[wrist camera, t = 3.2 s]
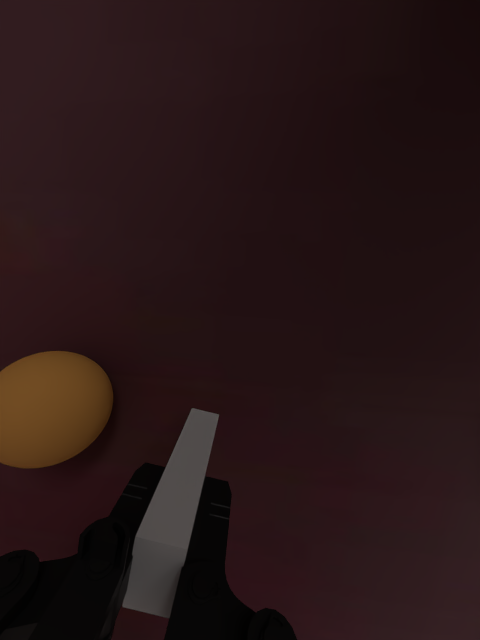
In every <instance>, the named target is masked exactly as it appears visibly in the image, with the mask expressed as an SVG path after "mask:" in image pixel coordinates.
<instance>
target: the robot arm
mask: <svg viewBox="0 0 480 640" xmlns="http://www.w3.org/2000/svg"><path fill="white" fill-rule="evenodd" d="M218 418H219V414H215V413H211V412H206V411H202V410H198V409H194V408H192V409H191V411H190V414H189V416H188V418H187V421H186V423H185V425H184V427H183V430H182V432H181V434H180V436H179V439H178V441H177V443H176V445H175V448H174V450H173V452H172V455H171V457H170V459H169V461H168V464H167V466H166V467H162V466H158V465H154V464H150V463H145V464H143V465H142V466H141V467H140V468H138V469H137V470H136V471H135V472H134V474H133V476H132V478H131V479H130V481H129V483H128V485H127V486H126V488H125V489H124V491H123V493H122V495H121V496H120V498H119V500H118V501H117V503H116V505H115V507H114V508H113V510H112V512H111V513H110V515H109V517H106V518H103V519H100V520H97V521H95V522H94V523H92V524H91V525H89V526H88V527H87V528H86V529H85V530H84V531H83V533H82V534H81V535H80V538H79V546H78V553H77V554H75V555H73V556H71V557H67V558H63V559H57V560H50V561H43V562H39V558H38V557H37V556H36V554H35V553H34V552H31V551H28V550H18V551H12V552H10V553H8V554H5V555H3V556H1V557H0V640H111V637H112V633H113V629H114V625H115V620H116V618H117V615H118V612H119V610H120V607H121V605H122V602H123V606H122V607H125V608H129V609H133V610H137V611H141V612H145V613H149V614H153V615H157V616H161V617H165V618H169V622H168V626H167V630H166V634H165V638H164V640H297V639H296V636H295V634H294V631H293V628H292V627H291V625H290V624H289V622H288V621H287V620H286V618H285V617H284V616H283V615H282V614H280V613H279V612H277V611H276V610H274V609H268V608H265V609H262V610H260V611H257V613H255V612H254V611H253V610H251V609H250V608H249V607H247V606H246V605H245V604H243V603H242V602H241V601H240V600H239V599H238V598H237V597H236V596H235V595H234V594H233V592H232V591H231V589H230V587H229V585H228V583H227V580H226V575H225V557H226V547H227V536H228V526H229V515H230V505H231V495H232V494H231V490H230V487H229V484H228V482H227V481H223V480H219V479H215V478H211V477H206V476H205V473H206V469H207V465H208V460H209V456H210V452H211V448H212V443H213V439H214V435H215V430H216V426H217V422H218ZM123 600H124V601H123Z"/></svg>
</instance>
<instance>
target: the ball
mask: <svg viewBox="0 0 480 640" xmlns="http://www.w3.org/2000/svg"><path fill="white" fill-rule="evenodd" d="M112 407H113V390H112V385H111V382H110V380H109V378H108V376H107V374H106V373H105V371H104V370H103V369H102V368H101V367H100V366H99V365H98V364H97V363H96V362H94V361H93V360H91V359H89V358H87V357H85V356H83V355H80V354H77V353H72V352H67V351H48V352H42V353H37V354H33V355H30V356H27V357H24V358H22V359H20V360H18V361H16V362H14V363H12V364H10V365H9V366H7V367H6V368H4V369H3V370H2V371H0V462H1V463H3V464H5V465H8V466H13V467H18V468H41V467H47V466H51V465H55V464H58V463H61V462H63V461H65V460H68V459H70V458H72V457H73V456H75V455H77V454H78V453H80V452H81V451H83V450H84V449H85V448H87V447H88V446H89V445H90V444H91V443H92V442H93V441H94V440H95V439H96V438H97V437H98V436H99V434H100V433H101V432H102V430H103V429H104V427H105V425H106V424H107V422H108V419H109V417H110V414H111V411H112Z"/></svg>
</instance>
